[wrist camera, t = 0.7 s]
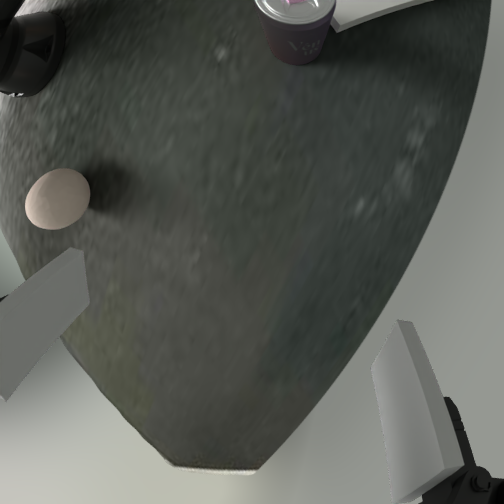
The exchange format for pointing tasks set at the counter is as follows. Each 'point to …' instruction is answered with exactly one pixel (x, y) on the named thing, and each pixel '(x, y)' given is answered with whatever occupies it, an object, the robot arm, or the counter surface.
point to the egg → (58, 199)
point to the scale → (365, 11)
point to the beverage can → (295, 27)
